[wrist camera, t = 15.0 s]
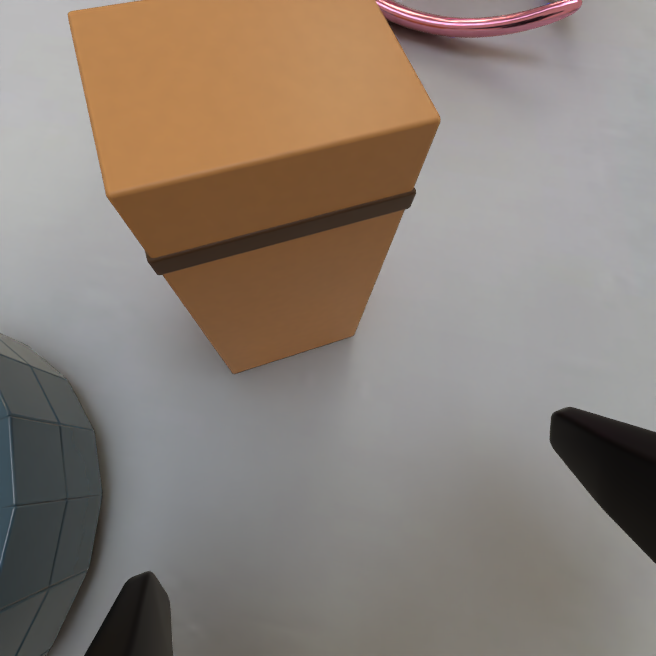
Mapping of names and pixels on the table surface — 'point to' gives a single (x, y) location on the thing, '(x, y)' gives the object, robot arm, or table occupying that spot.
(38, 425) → the bowl
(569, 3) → the pink openwork ball
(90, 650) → the robot arm
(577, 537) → the table surface
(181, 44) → the case
